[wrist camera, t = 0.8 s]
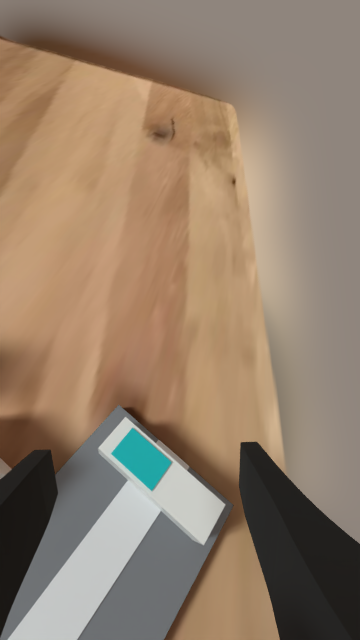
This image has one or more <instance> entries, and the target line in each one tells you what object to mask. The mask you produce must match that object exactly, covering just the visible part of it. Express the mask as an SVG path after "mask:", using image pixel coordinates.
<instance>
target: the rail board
mask: <svg viewBox="0 0 360 640" xmlns="http://www.w3.org/2000/svg"><path fill="white" fill-rule="evenodd" d="M55 478H56V483H57V489H58V495H57V499H56V502H55V505H54V509H53V512H52V515H51V518H50V521H49V523H48V526H47V528H46V530H45V533H44V535H43V537H42V540H41V542H40V544H39V546H38V549H37V551H36V553H35V555H34V558H33V560H32V562H31V564H30V567H29V569H28V571H27V573H26V575H25V578H24V580H23V582H22V584H21V587H20V589H19V591H18V593H17V596H16V598H15V600H14V603H13V605H12V608H11V610H10V613H9V615H8V618H7V621H6V623H5V626H4V629H3V632H2V635H1V637H0V640H164V638H165V636H166V634H167V633H168V631H169V629H170V627H171V625H172V623H173V621H174V619H175V617H176V615H177V613H178V611H179V609H180V607H181V606H182V604H183V602H184V600H185V598H186V596H187V594H188V592H189V590H190V588H191V586H192V584H193V582H194V581H195V579H196V577H197V575H198V573H199V571H200V569H201V567H202V565H203V563H204V561H205V559H206V557H207V556H208V554H209V552H210V550H211V548H212V546H213V544H214V542H215V540H216V538H217V536H218V534H219V532H220V531H221V529H222V527H223V525H224V523H225V521H226V519H227V517H228V515H229V513H230V511H231V509H232V507H233V506H234V505H233V504H232V503H230V502H229V501H228V500H227V499H226V498H225V497H223V496H222V495H221V494H220V493H219V492H218V491H217V490H215V489H214V488H213V487H212V486H211V485H210V484H209V483H207V482H206V481H205V480H204V479H203V478H202V477H201V476H199V475H198V474H197V473H196V472H195V471H194V470H193V469H191V468H190V466H188V465H187V464H186V463H185V462H184V461H183V460H182V459H180V458H179V457H178V456H177V455H176V454H175V453H174V452H172V451H171V450H170V449H169V448H168V447H167V446H166V445H164V444H163V443H162V442H161V441H160V440H158V439H157V438H156V437H155V436H154V435H153V434H151V433H150V432H149V431H148V430H147V429H146V428H145V427H143V426H142V425H141V424H140V423H139V422H138V421H137V420H135V419H134V418H133V417H132V416H131V415H130V414H129V413H127V412H126V411H125V410H124V409H123V408H122V407H121V406H119V405H118V406H117V407H116V408H115V410H114V411H113V412H112V413H111V414H110V415H109V416H108V417H107V418H106V419H105V421H104V422H103V423H102V424H101V425H100V426H99V427H98V428H97V429H96V430H95V432H94V433H93V434H92V435H91V436H90V437H89V438H88V439H87V440H86V441H85V443H84V444H83V445H82V446H81V447H80V448H79V449H78V450H77V451H76V452H75V454H74V455H73V456H72V457H71V458H70V459H69V460H68V461H67V462H66V463H65V465H64V466H63V467H62V468H61V469H60V470H59V471H58V472H57V473H56V474H55Z"/></svg>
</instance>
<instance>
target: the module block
mask: <svg viewBox="0 0 360 640" xmlns="http://www.w3.org/2000/svg"><path fill="white" fill-rule="evenodd" d="M10 470H12V469H11V468H10V467H9V466H8V465H7V464H6V463H5V462H4V461H3V460H2V459H1V458H0V479H1V478H2V477H4V476H5V475H6V474H7V473H8V472H9V471H10Z"/></svg>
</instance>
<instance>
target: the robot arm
mask: <svg viewBox="0 0 360 640" xmlns="http://www.w3.org/2000/svg"><path fill="white" fill-rule="evenodd" d="M239 488H240V493H241V498H242V503H243V508H244V513H245V517H246V520H247V523H248V527H249V530H250V533H251V536H252V540H253V543H254V546H255V549H256V552H257V556H258V559H259V562H260V565H261V568H262V572H263V575H264V578H265V581H266V584H267V588H268V592H269V595H270V599H271V602H272V607H273V611H274V615H275V620H276V624H277V628H278V633H279V637H280V640H360V544H359V543H358V542H357V541H355V540H354V539H353V538H352V537H350V536H349V535H348V534H347V533H345V532H344V531H343V530H342V529H341V528H340V527H338V526H337V525H336V524H335V523H334V522H333V521H331V520H330V519H329V518H328V517H327V516H326V515H325V514H324V513H323V512H321V511H320V510H319V509H318V508H317V507H316V506H315V505H314V504H313V503H312V502H311V501H310V500H309V499H308V498H307V497H306V496H305V495H304V494H303V493H302V492H301V491H300V490H299V489H298V488H297V487H296V486H295V485H294V484H293V483H292V481H291V480H290V479H289V478H288V477H287V476H286V475H285V474H284V473H283V472H282V471H281V469H280V468H279V467H278V466H277V465H276V464H275V463H274V461H273V460H272V459H271V458H270V457H269V455H268V454H267V453H266V452H265V451H264V449H263V448H262V447H261V446H260V445H259V444H258V443H257V442H241V448H240V474H239ZM57 495H58V489H57V483H56V478H55V472H54V466H53V461H52V455H51V450H34V451H33V452H32V453H30V454H29V455H28V456H27V457H25V458H24V459H23V460H22V461H21V462H20V463H18V464H17V465H16V466H15V467H14V468H13V469H12V470H10V471H9V472H8V473H7V474H6V475H5V476H4V477H2V478H1V479H0V637H1V635H2V632H3V629H4V626H5V623H6V621H7V618H8V615H9V613H10V610H11V608H12V605H13V603H14V600H15V598H16V596H17V593H18V591H19V589H20V587H21V584H22V582H23V580H24V578H25V575H26V573H27V571H28V569H29V567H30V564H31V562H32V560H33V558H34V555H35V553H36V551H37V549H38V546H39V544H40V542H41V540H42V537H43V535H44V533H45V530H46V528H47V526H48V523H49V521H50V518H51V515H52V512H53V509H54V505H55V502H56V499H57Z"/></svg>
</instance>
